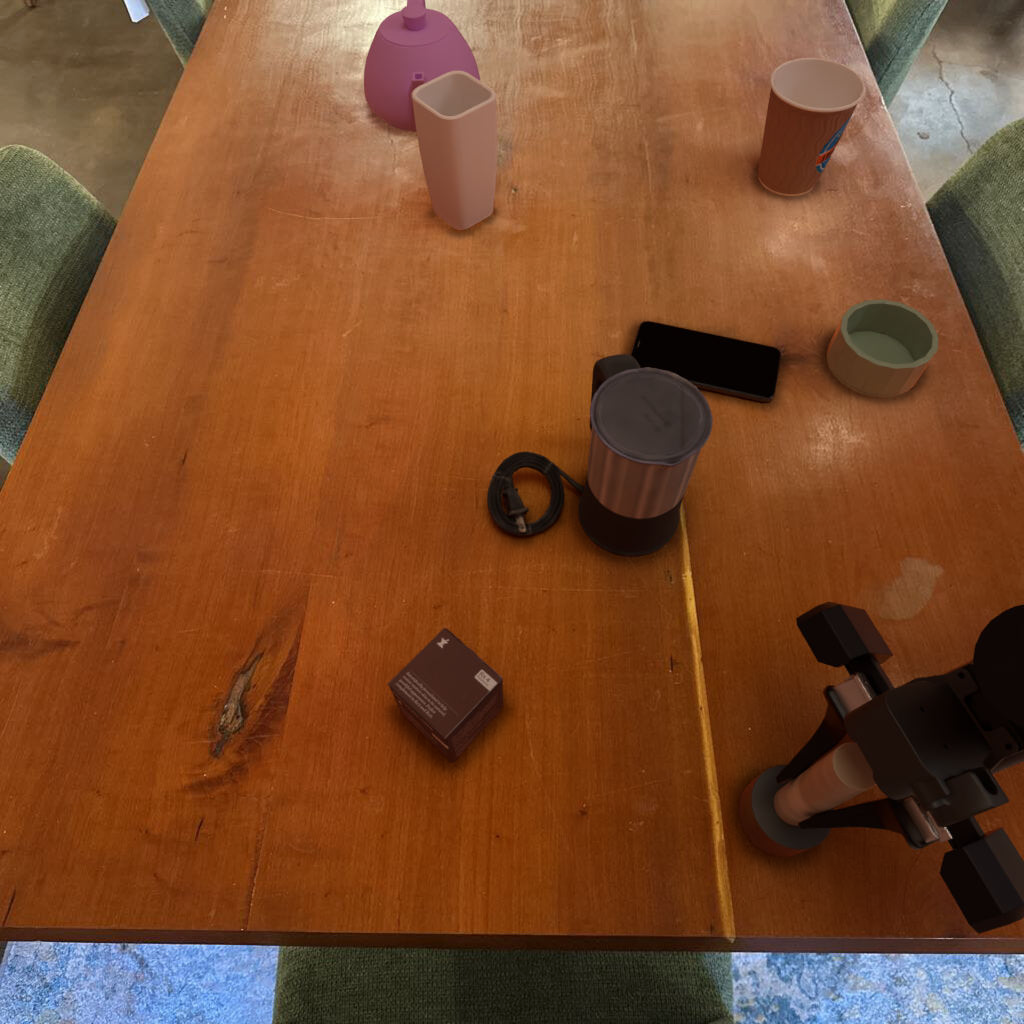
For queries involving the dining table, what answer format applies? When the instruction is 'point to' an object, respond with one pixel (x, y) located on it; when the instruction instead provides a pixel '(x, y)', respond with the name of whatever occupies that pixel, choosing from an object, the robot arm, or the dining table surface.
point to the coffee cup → (805, 121)
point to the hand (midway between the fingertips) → (789, 802)
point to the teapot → (411, 60)
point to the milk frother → (621, 460)
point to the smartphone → (709, 360)
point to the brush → (801, 800)
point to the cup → (458, 146)
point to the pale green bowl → (881, 348)
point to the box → (448, 694)
